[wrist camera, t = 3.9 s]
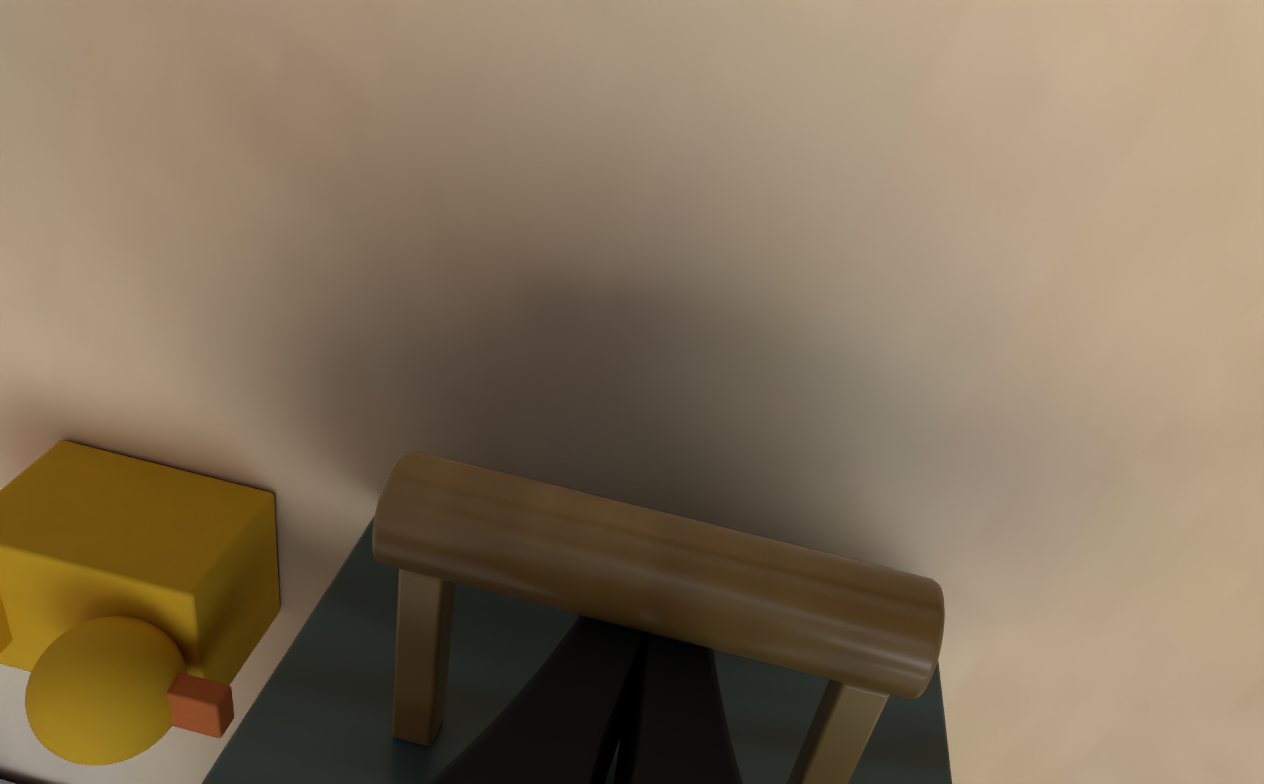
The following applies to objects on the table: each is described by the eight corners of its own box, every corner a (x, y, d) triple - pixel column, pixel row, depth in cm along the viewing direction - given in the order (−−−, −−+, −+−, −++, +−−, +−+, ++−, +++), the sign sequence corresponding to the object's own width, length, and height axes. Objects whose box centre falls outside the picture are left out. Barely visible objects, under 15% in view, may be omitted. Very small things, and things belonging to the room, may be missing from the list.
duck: (79, 558, 22) (-117, 754, 17) (54, 435, 20) (-172, 621, 15) (325, 622, 21) (190, 839, 17) (322, 504, 19) (171, 713, 15)
